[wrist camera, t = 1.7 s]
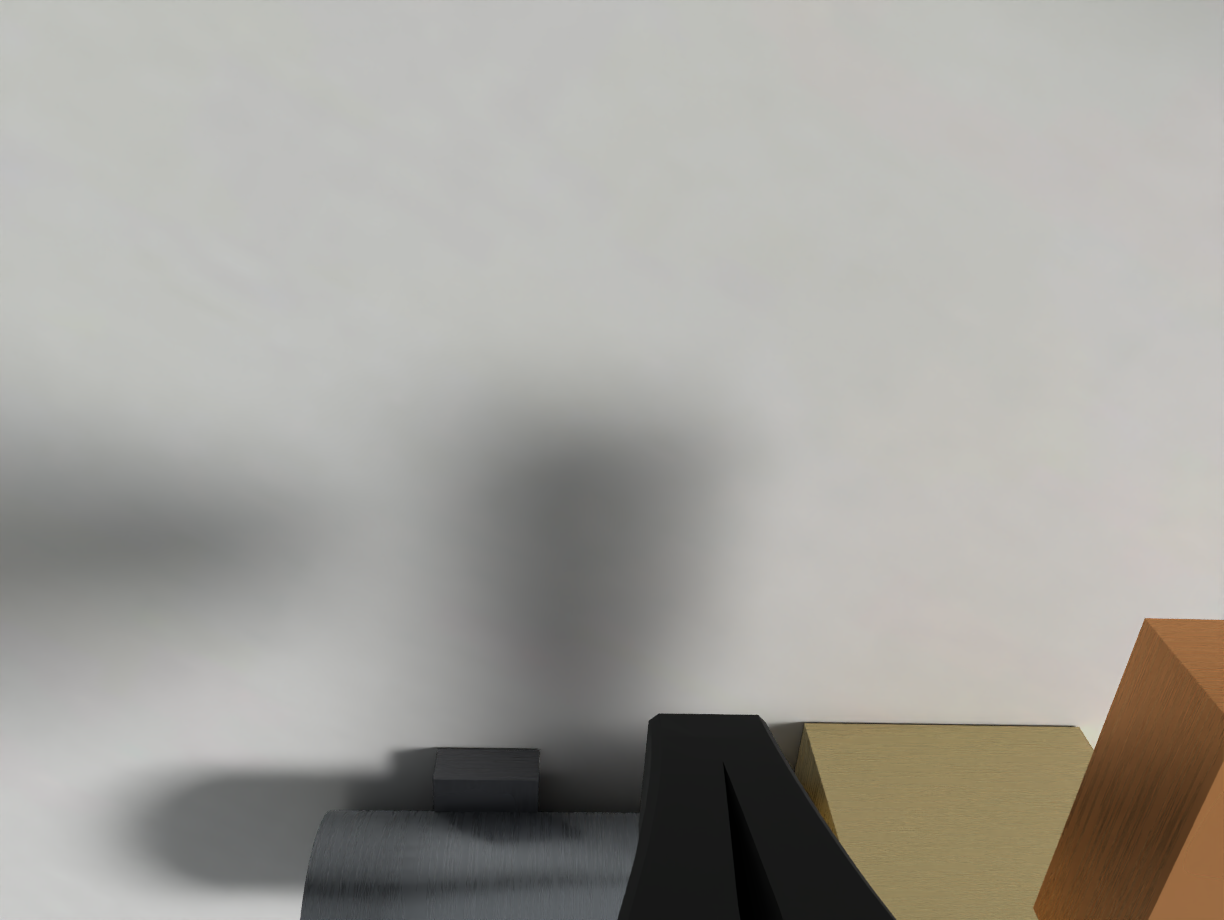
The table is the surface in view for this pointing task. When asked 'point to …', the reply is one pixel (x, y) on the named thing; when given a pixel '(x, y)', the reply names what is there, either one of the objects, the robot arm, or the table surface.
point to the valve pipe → (607, 842)
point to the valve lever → (1151, 790)
